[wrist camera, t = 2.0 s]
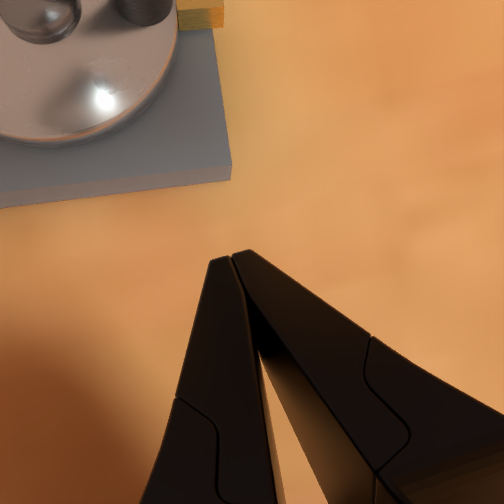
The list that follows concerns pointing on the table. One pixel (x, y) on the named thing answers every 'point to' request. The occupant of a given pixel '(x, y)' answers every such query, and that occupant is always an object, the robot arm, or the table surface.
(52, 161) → the post base
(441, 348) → the table surface
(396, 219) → the table surface
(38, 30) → the grey round part
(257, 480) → the robot arm
